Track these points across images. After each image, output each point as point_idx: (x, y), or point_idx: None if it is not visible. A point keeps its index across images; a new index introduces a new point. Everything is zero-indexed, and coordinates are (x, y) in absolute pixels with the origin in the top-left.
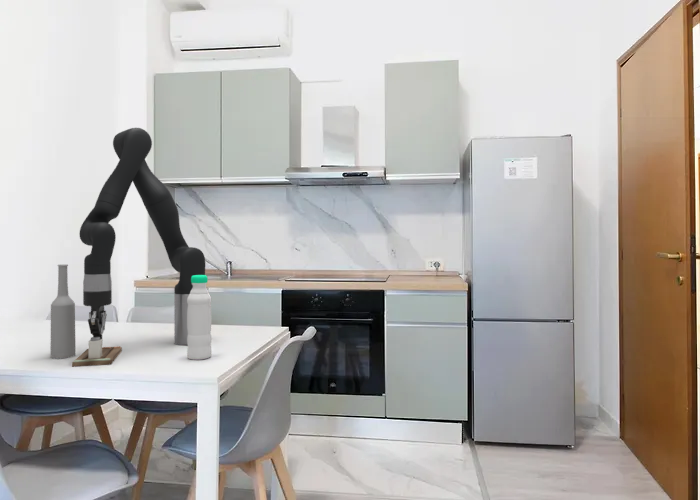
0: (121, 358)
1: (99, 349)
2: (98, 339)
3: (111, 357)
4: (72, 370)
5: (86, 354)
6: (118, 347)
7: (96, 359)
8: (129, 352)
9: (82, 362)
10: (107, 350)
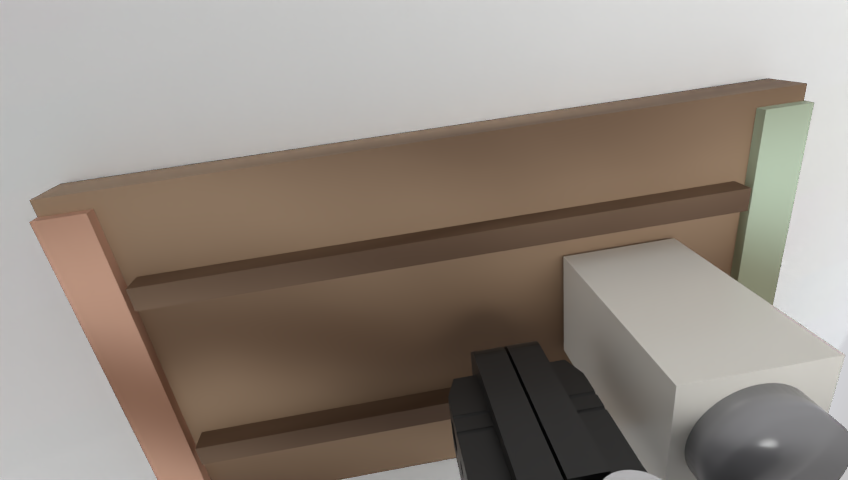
0: (499, 52)
1: (741, 289)
2: (810, 399)
3: (666, 127)
4: (843, 329)
5: (446, 421)
6: (97, 229)
7: (764, 241)
8: (142, 51)
9: None
10: (259, 304)
